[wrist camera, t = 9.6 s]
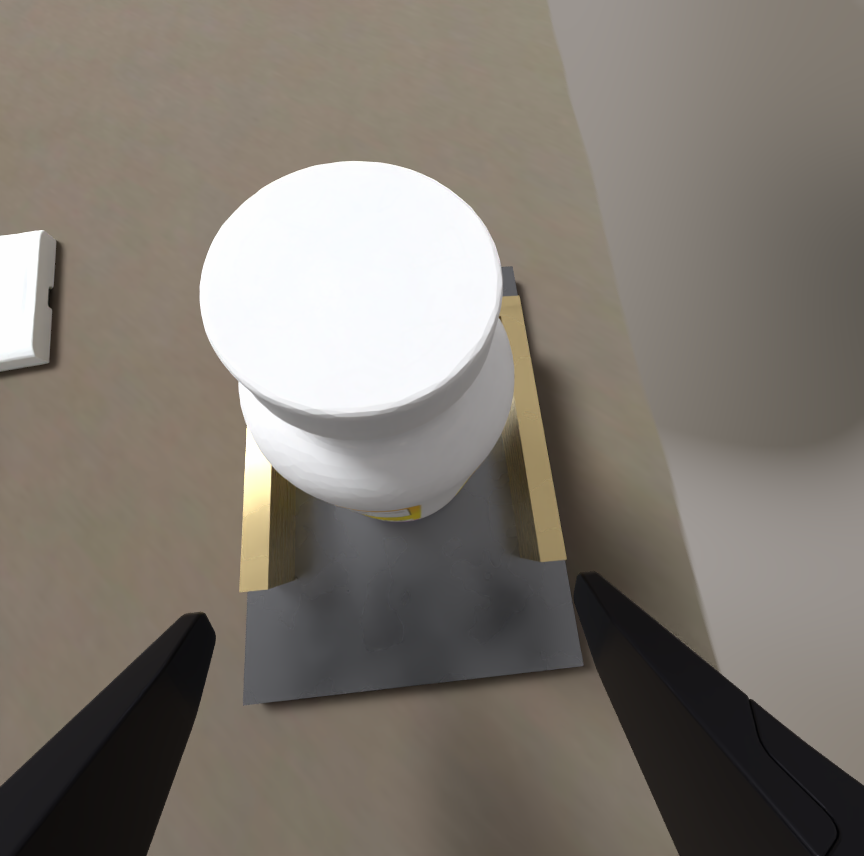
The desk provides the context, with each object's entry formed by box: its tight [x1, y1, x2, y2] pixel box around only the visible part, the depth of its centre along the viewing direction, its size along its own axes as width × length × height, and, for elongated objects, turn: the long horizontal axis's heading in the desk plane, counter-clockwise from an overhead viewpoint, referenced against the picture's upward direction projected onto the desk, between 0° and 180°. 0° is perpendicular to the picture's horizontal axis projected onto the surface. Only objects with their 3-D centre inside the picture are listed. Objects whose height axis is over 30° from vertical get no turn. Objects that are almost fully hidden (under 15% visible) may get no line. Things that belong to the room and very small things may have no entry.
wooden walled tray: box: [239, 266, 584, 705], centre depth 17 cm, size 20×14×4 cm
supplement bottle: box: [200, 161, 514, 522], centre depth 12 cm, size 7×7×13 cm
